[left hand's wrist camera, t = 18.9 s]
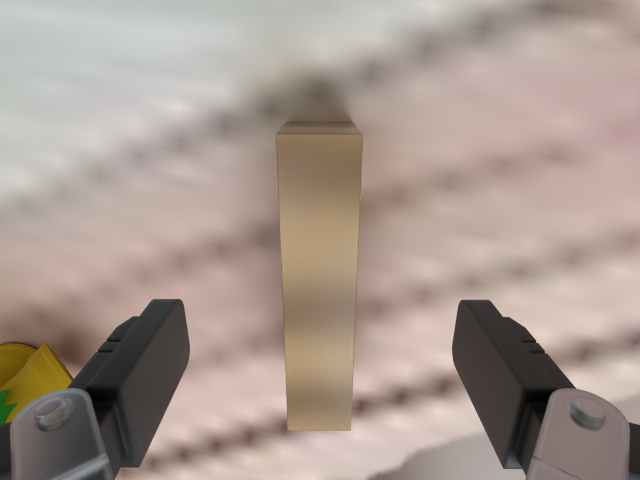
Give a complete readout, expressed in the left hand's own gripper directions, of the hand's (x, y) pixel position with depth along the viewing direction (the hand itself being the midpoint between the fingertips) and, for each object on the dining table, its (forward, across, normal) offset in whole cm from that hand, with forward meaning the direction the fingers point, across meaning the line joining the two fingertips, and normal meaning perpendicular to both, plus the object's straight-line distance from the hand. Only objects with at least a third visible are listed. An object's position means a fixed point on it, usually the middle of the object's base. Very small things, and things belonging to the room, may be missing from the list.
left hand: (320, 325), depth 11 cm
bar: (+25, 0, +10) cm, 27 cm away
